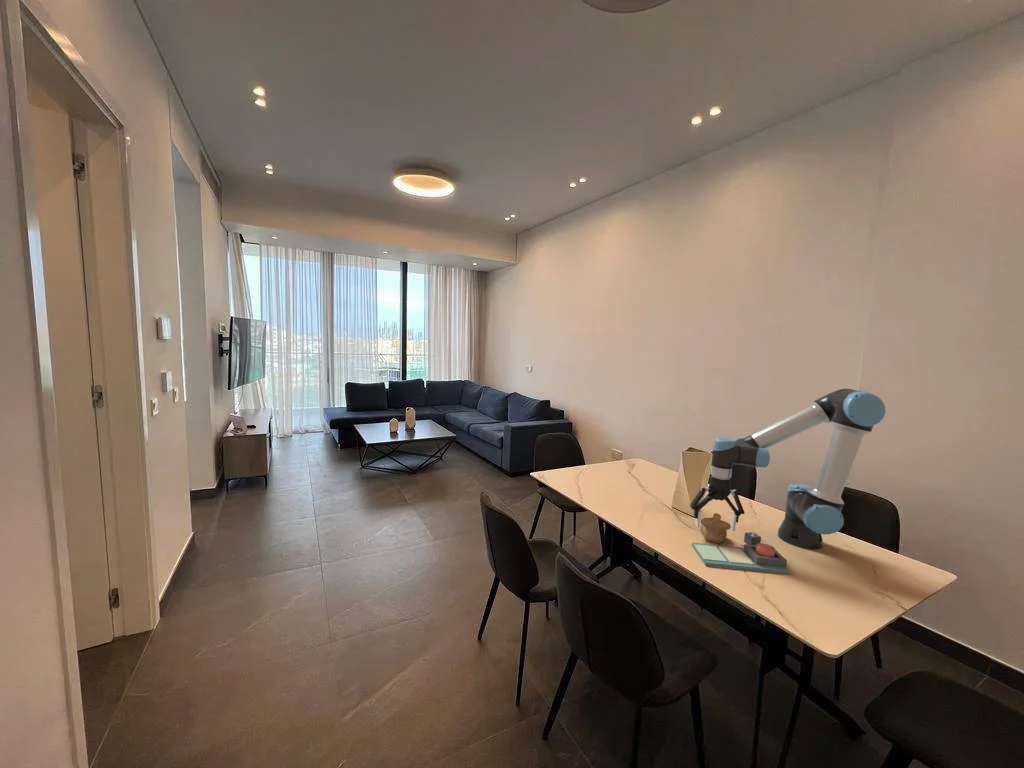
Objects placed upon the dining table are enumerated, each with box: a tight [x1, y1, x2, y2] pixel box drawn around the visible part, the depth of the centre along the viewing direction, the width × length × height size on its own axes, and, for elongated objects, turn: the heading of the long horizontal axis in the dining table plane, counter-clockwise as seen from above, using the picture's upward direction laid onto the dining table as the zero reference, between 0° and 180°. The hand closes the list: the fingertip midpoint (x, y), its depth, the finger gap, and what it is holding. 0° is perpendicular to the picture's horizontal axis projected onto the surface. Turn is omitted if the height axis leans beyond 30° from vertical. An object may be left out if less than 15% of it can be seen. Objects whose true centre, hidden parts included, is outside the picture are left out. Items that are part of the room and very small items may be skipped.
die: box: [743, 531, 762, 545], centre depth 163 cm, size 4×4×4 cm
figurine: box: [699, 513, 731, 544], centre depth 165 cm, size 11×9×15 cm
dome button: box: [755, 542, 776, 557], centre depth 150 cm, size 6×6×4 cm
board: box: [691, 542, 791, 575], centre depth 151 cm, size 28×15×4 cm, turn 83°
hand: (714, 527), depth 166 cm, fingers open, 13 cm apart
